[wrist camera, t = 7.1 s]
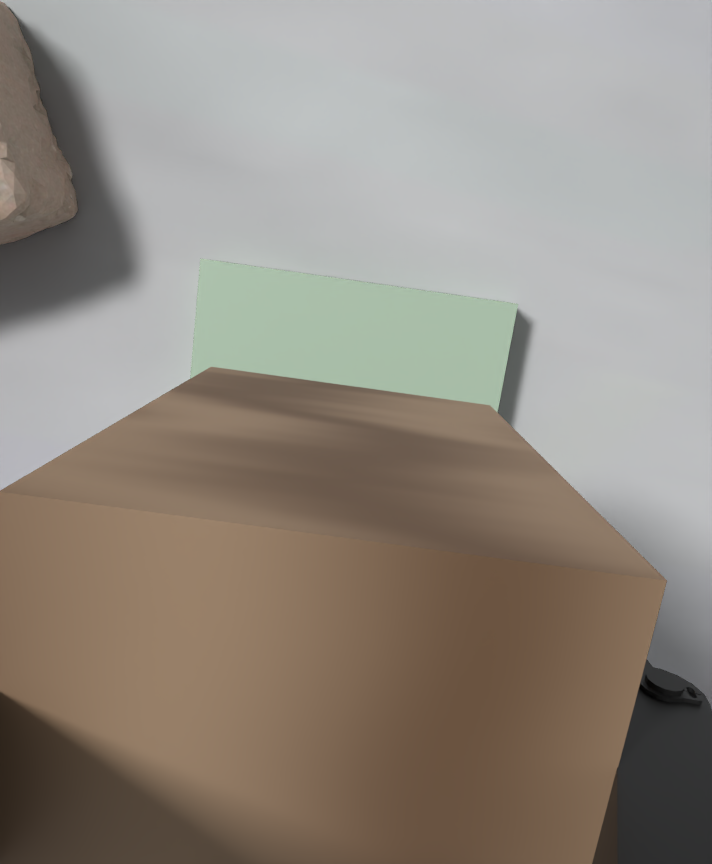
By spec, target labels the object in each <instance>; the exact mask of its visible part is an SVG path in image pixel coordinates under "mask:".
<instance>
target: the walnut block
mask: <svg viewBox="0 0 712 864" xmlns="http://www.w3.org/2000/svg"><path fill="white" fill-rule="evenodd" d="M666 582H667V580H666V579H665V578H664V577H663V576H662V575H661V574H660V573H659V572H658V571H657V570H656V569H655V568H654V567H653V566H652V565H651V564H650V563H649V562H648V561H647V560H646V559H645V558H644V557H642V556H641V555H640V554H639V553H638V552H637V551H636V550H635V549H634V548H633V547H632V546H631V545H630V544H629V543H628V542H627V541H626V540H625V539H624V538H623V537H622V536H621V535H620V534H619V533H618V532H617V531H616V530H615V529H614V528H613V527H612V526H611V525H610V524H609V523H608V522H607V521H606V520H605V519H604V518H603V517H602V516H601V515H600V514H599V513H598V512H597V511H596V510H595V509H594V508H593V507H592V506H591V505H590V504H589V503H588V502H587V501H586V500H585V499H584V498H583V497H582V496H581V495H580V494H579V493H578V492H577V491H576V490H575V489H574V488H573V487H572V486H571V485H570V484H569V483H568V482H567V481H566V480H565V479H564V478H563V477H562V476H561V475H560V474H559V473H558V472H557V471H556V470H555V469H554V468H553V467H552V466H551V465H550V464H549V463H548V462H547V461H546V460H545V459H544V458H543V457H542V456H541V455H540V454H539V453H538V452H537V451H536V450H535V449H534V448H533V447H532V446H531V445H530V444H529V443H528V442H527V441H526V440H525V439H524V438H523V437H522V436H521V435H520V434H519V433H517V432H516V431H515V430H514V429H513V428H512V427H511V426H510V425H509V424H508V423H507V422H506V421H505V420H504V419H503V418H502V417H501V416H500V415H499V414H498V413H497V412H496V411H495V410H494V409H493V408H492V407H491V406H490V405H485V404H477V403H470V402H463V401H456V400H449V399H441V398H434V397H427V396H420V395H413V394H405V393H398V392H391V391H384V390H376V389H369V388H362V387H355V386H348V385H340V384H333V383H326V382H319V381H311V380H304V379H297V378H290V377H283V376H275V375H268V374H261V373H254V372H247V371H239V370H232V369H225V368H218V367H210V368H208V369H206V370H204V371H203V372H201V373H199V374H198V375H196V376H194V377H193V378H191V379H189V380H187V381H186V382H184V383H182V384H181V385H179V386H177V387H176V388H174V389H172V390H170V391H169V392H167V393H165V394H164V395H162V396H160V397H159V398H157V399H155V400H153V401H152V402H150V403H148V404H147V405H145V406H143V407H142V408H140V409H138V410H137V411H135V412H133V413H131V414H130V415H128V416H126V417H125V418H123V419H121V420H120V421H118V422H116V423H114V424H113V425H111V426H109V427H108V428H106V429H104V430H103V431H101V432H99V433H97V434H96V435H94V436H92V437H91V438H89V439H87V440H86V441H84V442H82V443H80V444H79V445H77V446H75V447H74V448H72V449H70V450H69V451H67V452H65V453H63V454H62V455H60V456H58V457H57V458H55V459H53V460H52V461H50V462H48V463H46V464H45V465H43V466H41V467H40V468H38V469H36V470H35V471H33V472H31V473H30V474H28V475H26V476H24V477H23V478H21V479H19V480H18V481H16V482H14V483H13V484H11V485H9V486H7V487H6V488H4V489H2V490H1V491H0V864H592V862H593V858H594V854H595V850H596V847H597V843H598V839H599V835H600V831H601V827H602V824H603V820H604V816H605V812H606V808H607V804H608V801H609V797H610V793H611V789H612V785H613V782H614V778H615V774H616V770H617V767H618V766H619V762H620V758H621V754H622V750H623V747H624V743H625V739H626V735H627V731H628V728H629V724H630V720H631V716H632V712H633V708H634V705H635V701H636V697H637V693H638V689H639V686H640V682H641V678H642V674H643V670H644V666H645V663H646V659H647V655H648V651H649V647H650V644H651V640H652V636H653V632H654V628H655V624H656V621H657V617H658V613H659V609H660V605H661V601H662V598H663V594H664V590H665V586H666Z"/></svg>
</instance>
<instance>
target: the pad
mask: <svg viewBox="0 0 712 864" xmlns="http://www.w3.org/2000/svg"><path fill="white" fill-rule="evenodd" d="M517 307H518V304H515V303H508V302H501V301H494V300H487V299H480V298H473V297H466V296H459V295H452V294H445V293H438V292H431V291H424V290H417V289H410V288H403V287H396V286H389V285H382V284H375V283H368V282H361V281H354V280H347V279H340V278H333V277H326V276H319V275H312V274H305V273H298V272H291V271H284V270H277V269H270V268H263V267H256V266H249V265H242V264H235V263H228V262H221V261H214V260H207V259H200V269H199V281H198V293H197V305H196V316H195V328H194V340H193V352H192V364H191V375H190V379H191V378H193V377H194V376H196V375H198V374H199V373H201V372H203V371H204V370H206V369H208V368H210V367H218V368H225V369H232V370H239V371H247V372H254V373H261V374H268V375H275V376H283V377H290V378H297V379H304V380H311V381H319V382H326V383H333V384H340V385H348V386H355V387H362V388H369V389H376V390H384V391H391V392H398V393H405V394H413V395H420V396H427V397H434V398H441V399H449V400H456V401H463V402H470V403H477V404H485V405H490V406H491V407H492V408H493V409H494V410H495V411H496V412H497V413H498V407H499V402H500V397H501V392H502V386H503V381H504V376H505V370H506V365H507V360H508V355H509V349H510V344H511V339H512V334H513V328H514V323H515V318H516V312H517Z"/></svg>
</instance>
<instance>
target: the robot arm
mask: <svg viewBox="0 0 712 864" xmlns="http://www.w3.org/2000/svg"><path fill="white" fill-rule="evenodd" d="M592 864H712V711H711V706H710V704H709V702H708V700H707V698H706V697H705V695H704V694H703V693H702V692H701V691H700V690H699V689H697V688H696V687H695V686H694V685H693V684H691V683H689V682H688V681H686V680H684V679H682V678H681V677H679V676H677V675H675V674H672V673H669V672H667V671H664V670H662V669H658V668H653V667H652V666H651V664H650V663H649V662H648V660H647V659H646V663H645V666H644V670H643V674H642V678H641V682H640V686H639V689H638V693H637V697H636V701H635V705H634V708H633V712H632V716H631V720H630V724H629V728H628V731H627V735H626V739H625V743H624V747H623V750H622V754H621V758H620V762H619V766H618V767H617V770H616V774H615V778H614V782H613V785H612V789H611V793H610V797H609V801H608V804H607V808H606V812H605V816H604V820H603V824H602V827H601V831H600V835H599V839H598V843H597V847H596V850H595V854H594V858H593V862H592Z"/></svg>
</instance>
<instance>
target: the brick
mask: <svg viewBox="0 0 712 864" xmlns="http://www.w3.org/2000/svg"><path fill="white" fill-rule="evenodd" d="M39 95H40V88H39V85H38V82H37V80H36V77H35V75H34V64H33V60H32V56H31V52H30V49H29V47H28V45H27V43H26V41H25V39H24V37H23V34H22V32H21V29H20V26H19V24H18V21H17V19H16V18H15V16H14V15H13V14H12V12H11V11H10V10H9V8H8V7H7V6H6V4H5V3H3V2H1V1H0V244H5V243H10V242H15V241H18V240H21V239H23V238H26V237H29V236H31V235H32V234H34V233H37V232H39V231H42V230H44V229H46V228H50V227H54V226H56V225H58V224H61V223H63V222H66V221H68V220H70V219H71V218H73V217H74V216H75V214H76V213H77V211H78V207H77V199H76V191H75V189H74V187H73V185H72V183H71V178H72V177H73V176H72V172H71V168H70V166H69V163H67V162H66V160H65V158H64V156H63V155H62V151H61V150H60V149H59V148H58V146H57V140H56V137H55V136H54V135H53V134H52V131H51V126H50V124H49V121H48V117H47V111H46V109H45V108H44V107H43V106H42V100H41V99H40V96H39Z"/></svg>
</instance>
